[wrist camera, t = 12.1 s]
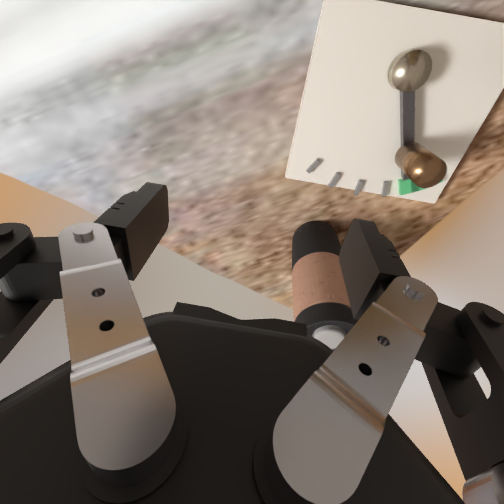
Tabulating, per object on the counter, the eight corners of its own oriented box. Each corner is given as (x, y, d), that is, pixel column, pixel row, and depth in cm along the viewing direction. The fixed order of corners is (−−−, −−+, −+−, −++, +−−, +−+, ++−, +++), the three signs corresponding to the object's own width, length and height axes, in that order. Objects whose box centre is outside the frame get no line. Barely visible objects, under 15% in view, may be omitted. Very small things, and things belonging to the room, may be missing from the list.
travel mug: (347, 242, 45) (382, 349, 29) (308, 264, 49) (320, 371, 33) (321, 210, 42) (343, 309, 26) (281, 236, 46) (279, 337, 30)
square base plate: (324, -7, 28) (327, -10, 26) (527, 29, 28) (544, 28, 26) (284, 177, 40) (284, 183, 38) (428, 202, 40) (435, 209, 38)
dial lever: (386, 57, 29) (411, 59, 23) (424, 44, 28) (459, 42, 22) (391, 179, 36) (410, 203, 31) (421, 171, 36) (447, 195, 30)
